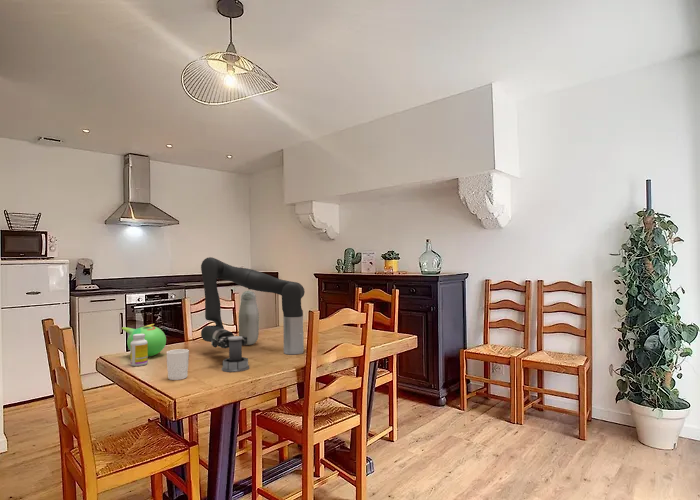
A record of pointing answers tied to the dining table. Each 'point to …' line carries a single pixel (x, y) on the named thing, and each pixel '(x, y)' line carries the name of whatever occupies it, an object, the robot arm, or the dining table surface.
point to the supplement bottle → (138, 350)
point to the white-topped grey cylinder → (235, 348)
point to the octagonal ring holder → (235, 365)
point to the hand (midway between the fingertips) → (234, 344)
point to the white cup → (177, 364)
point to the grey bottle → (249, 317)
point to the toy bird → (149, 338)
